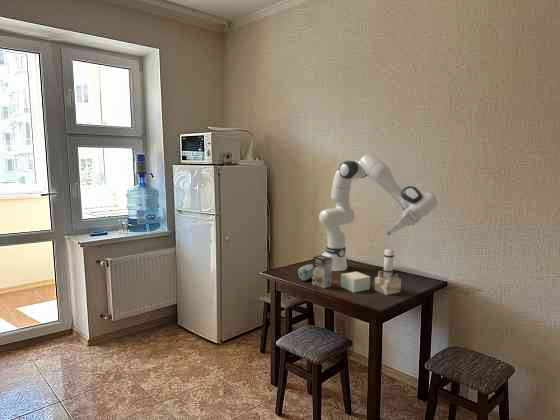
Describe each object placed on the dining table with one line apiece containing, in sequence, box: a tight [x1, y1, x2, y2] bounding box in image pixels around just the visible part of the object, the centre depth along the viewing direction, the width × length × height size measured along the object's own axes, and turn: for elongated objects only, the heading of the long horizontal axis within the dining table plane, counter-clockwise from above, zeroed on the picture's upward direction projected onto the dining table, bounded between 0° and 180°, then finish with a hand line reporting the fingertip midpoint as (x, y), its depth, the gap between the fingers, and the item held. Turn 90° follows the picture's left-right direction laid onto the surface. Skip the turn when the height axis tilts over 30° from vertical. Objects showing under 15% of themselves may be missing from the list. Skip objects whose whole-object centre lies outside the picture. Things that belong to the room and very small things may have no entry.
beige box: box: [340, 271, 371, 293], centre depth 211 cm, size 11×11×7 cm
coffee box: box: [311, 254, 333, 289], centre depth 214 cm, size 9×6×16 cm
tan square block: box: [373, 270, 402, 296], centre depth 206 cm, size 9×10×10 cm
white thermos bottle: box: [382, 249, 395, 279], centre depth 205 cm, size 5×5×15 cm
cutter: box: [331, 279, 342, 288], centre depth 214 cm, size 14×6×1 cm, turn 50°
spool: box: [297, 263, 313, 282], centre depth 226 cm, size 14×10×10 cm
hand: (388, 233), depth 201 cm, fingers open, 8 cm apart
